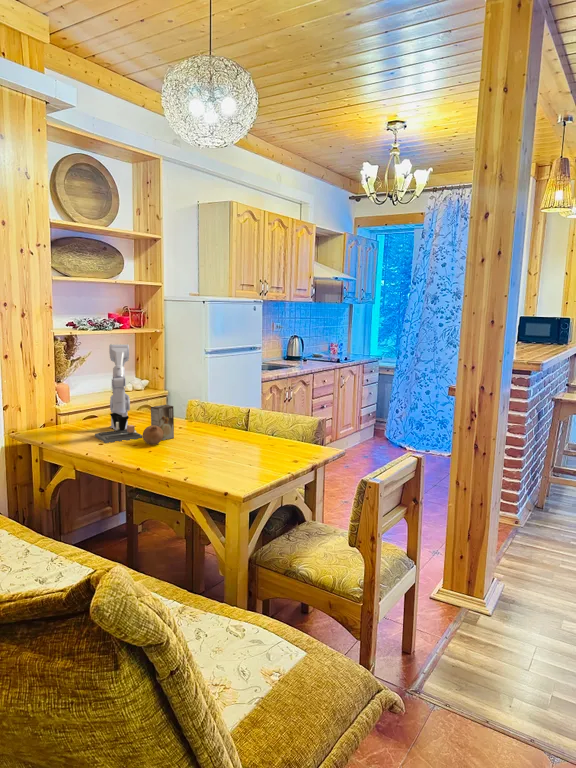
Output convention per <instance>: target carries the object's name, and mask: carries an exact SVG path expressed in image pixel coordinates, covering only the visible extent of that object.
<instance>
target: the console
mask: <svg viewBox="0 0 576 768" xmlns="http://www.w3.org/2000/svg"><path fill="white" fill-rule="evenodd" d="M94 437H95V438H96V439H98V440H100V441H101V442H102V443H104V444H109V442H111V443H116V442H115V441H119V442H123V441H122V440H126V441H131V440H130V439H134V440H139V439H138V438H142V439H143V434H140V433H139V432H137V430H135V429H134V432H133V435H129V432H127V429H125V430H122V431H121V432H117V430H111V431H110V430H109V431H100V432H97V433H94Z"/></svg>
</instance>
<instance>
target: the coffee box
mask: <svg viewBox="0 0 576 768" xmlns="http://www.w3.org/2000/svg"><path fill="white" fill-rule="evenodd" d="M174 413H175V412H174V406H173V405H169V404H161V405H155V406H150V426H152V425H155V426H158V427H160V428H161V429H162V431H163V438H162V440H163V441H166V439H167V440H170V439H175V424H174V423H175V422H174V417H175V415H174Z"/></svg>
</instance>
